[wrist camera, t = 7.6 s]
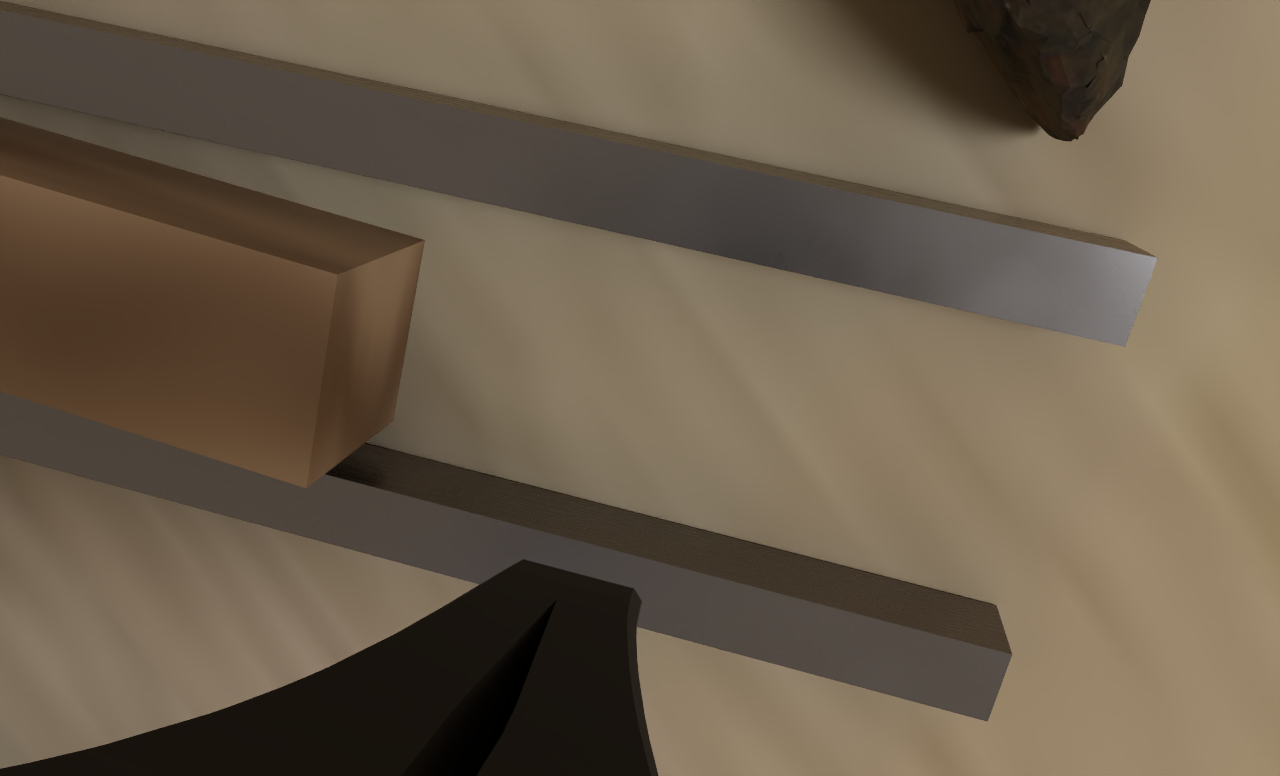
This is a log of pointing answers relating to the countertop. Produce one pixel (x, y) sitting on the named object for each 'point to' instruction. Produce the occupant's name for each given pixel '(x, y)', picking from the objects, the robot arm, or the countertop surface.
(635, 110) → the countertop surface
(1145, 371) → the countertop surface
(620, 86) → the countertop surface
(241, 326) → the long wooden beam
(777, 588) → the slot rails
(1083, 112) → the brown wooden log
